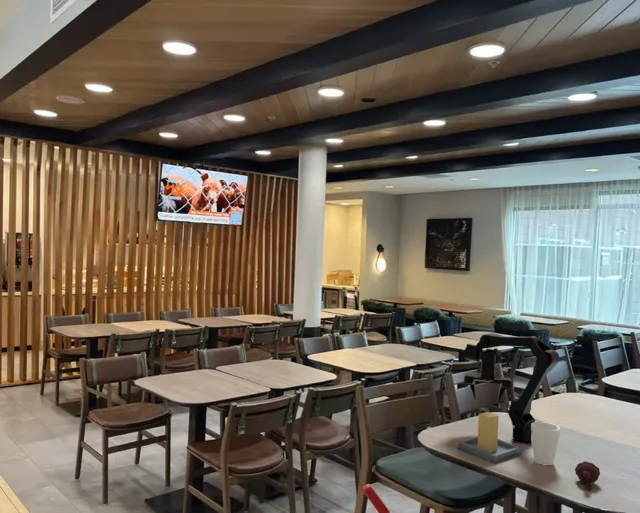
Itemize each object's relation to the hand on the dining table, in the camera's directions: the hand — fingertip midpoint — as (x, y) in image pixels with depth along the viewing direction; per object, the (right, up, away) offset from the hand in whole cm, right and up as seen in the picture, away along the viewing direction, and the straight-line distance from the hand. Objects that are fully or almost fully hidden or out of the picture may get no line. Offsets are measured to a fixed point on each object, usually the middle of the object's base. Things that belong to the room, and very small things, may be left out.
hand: (486, 400), depth 223 cm
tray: (-6, -12, -24) cm, 28 cm away
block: (-8, -11, -25) cm, 28 cm away
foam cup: (+10, -13, -32) cm, 37 cm away
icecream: (+18, -14, -48) cm, 53 cm away
